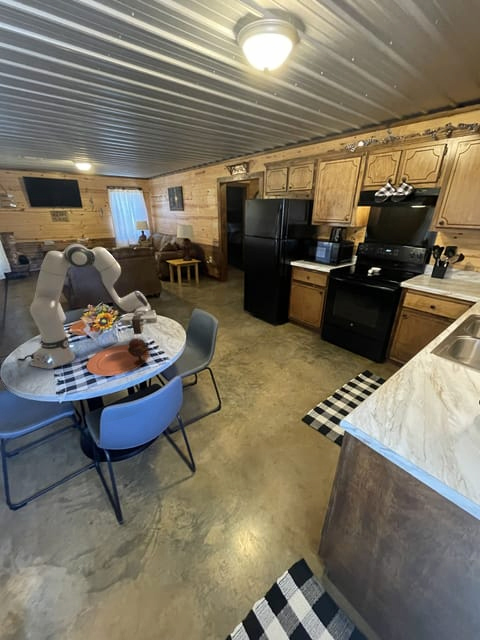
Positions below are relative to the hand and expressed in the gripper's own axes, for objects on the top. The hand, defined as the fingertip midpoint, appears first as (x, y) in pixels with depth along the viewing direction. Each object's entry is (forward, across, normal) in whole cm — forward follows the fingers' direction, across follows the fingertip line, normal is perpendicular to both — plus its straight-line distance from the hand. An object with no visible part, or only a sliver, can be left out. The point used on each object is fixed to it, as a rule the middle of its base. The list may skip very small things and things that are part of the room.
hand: (137, 324), depth 149 cm
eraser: (-1, 0, +5) cm, 5 cm away
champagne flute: (-38, -57, +21) cm, 72 cm away
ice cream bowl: (+6, 0, +21) cm, 22 cm away
